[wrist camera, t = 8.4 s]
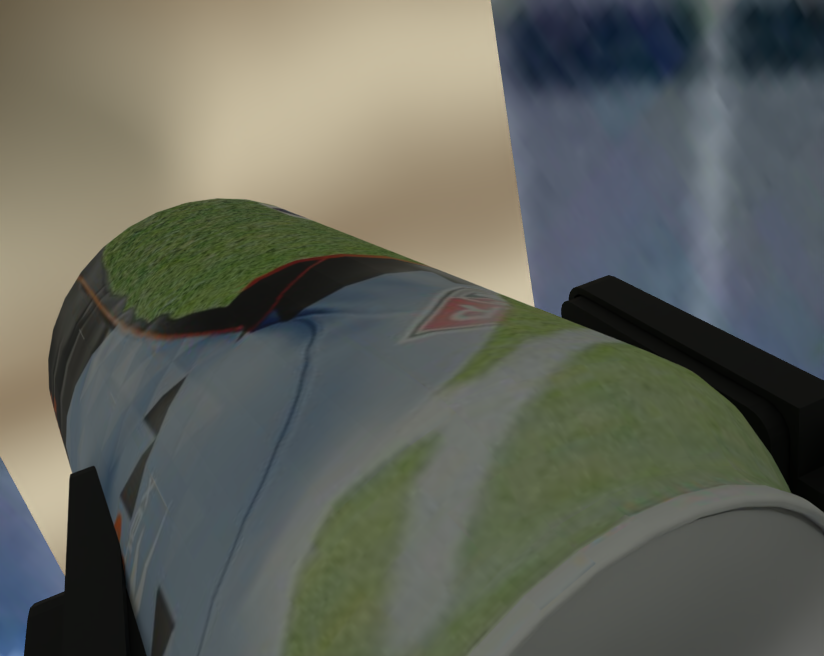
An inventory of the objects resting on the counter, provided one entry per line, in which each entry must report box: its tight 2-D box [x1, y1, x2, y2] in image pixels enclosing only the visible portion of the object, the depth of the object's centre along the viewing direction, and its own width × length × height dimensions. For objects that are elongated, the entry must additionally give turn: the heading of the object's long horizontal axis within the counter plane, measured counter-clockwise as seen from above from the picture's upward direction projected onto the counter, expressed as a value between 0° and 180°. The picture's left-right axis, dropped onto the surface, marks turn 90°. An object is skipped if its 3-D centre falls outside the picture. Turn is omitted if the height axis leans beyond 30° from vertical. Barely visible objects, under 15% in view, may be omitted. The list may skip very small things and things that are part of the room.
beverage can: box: [48, 198, 824, 656], centre depth 10 cm, size 6×7×12 cm
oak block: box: [0, 0, 534, 575], centre depth 21 cm, size 14×14×5 cm
